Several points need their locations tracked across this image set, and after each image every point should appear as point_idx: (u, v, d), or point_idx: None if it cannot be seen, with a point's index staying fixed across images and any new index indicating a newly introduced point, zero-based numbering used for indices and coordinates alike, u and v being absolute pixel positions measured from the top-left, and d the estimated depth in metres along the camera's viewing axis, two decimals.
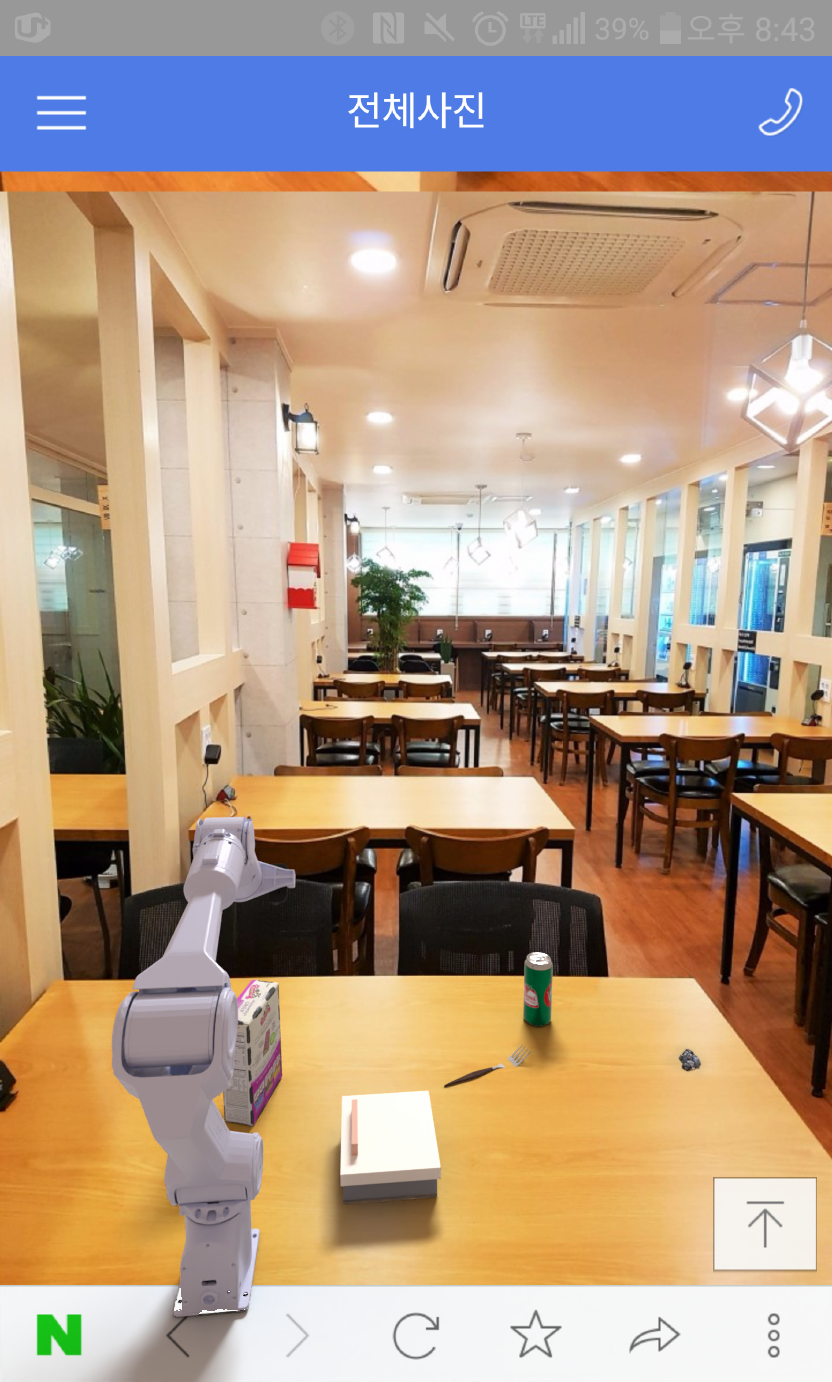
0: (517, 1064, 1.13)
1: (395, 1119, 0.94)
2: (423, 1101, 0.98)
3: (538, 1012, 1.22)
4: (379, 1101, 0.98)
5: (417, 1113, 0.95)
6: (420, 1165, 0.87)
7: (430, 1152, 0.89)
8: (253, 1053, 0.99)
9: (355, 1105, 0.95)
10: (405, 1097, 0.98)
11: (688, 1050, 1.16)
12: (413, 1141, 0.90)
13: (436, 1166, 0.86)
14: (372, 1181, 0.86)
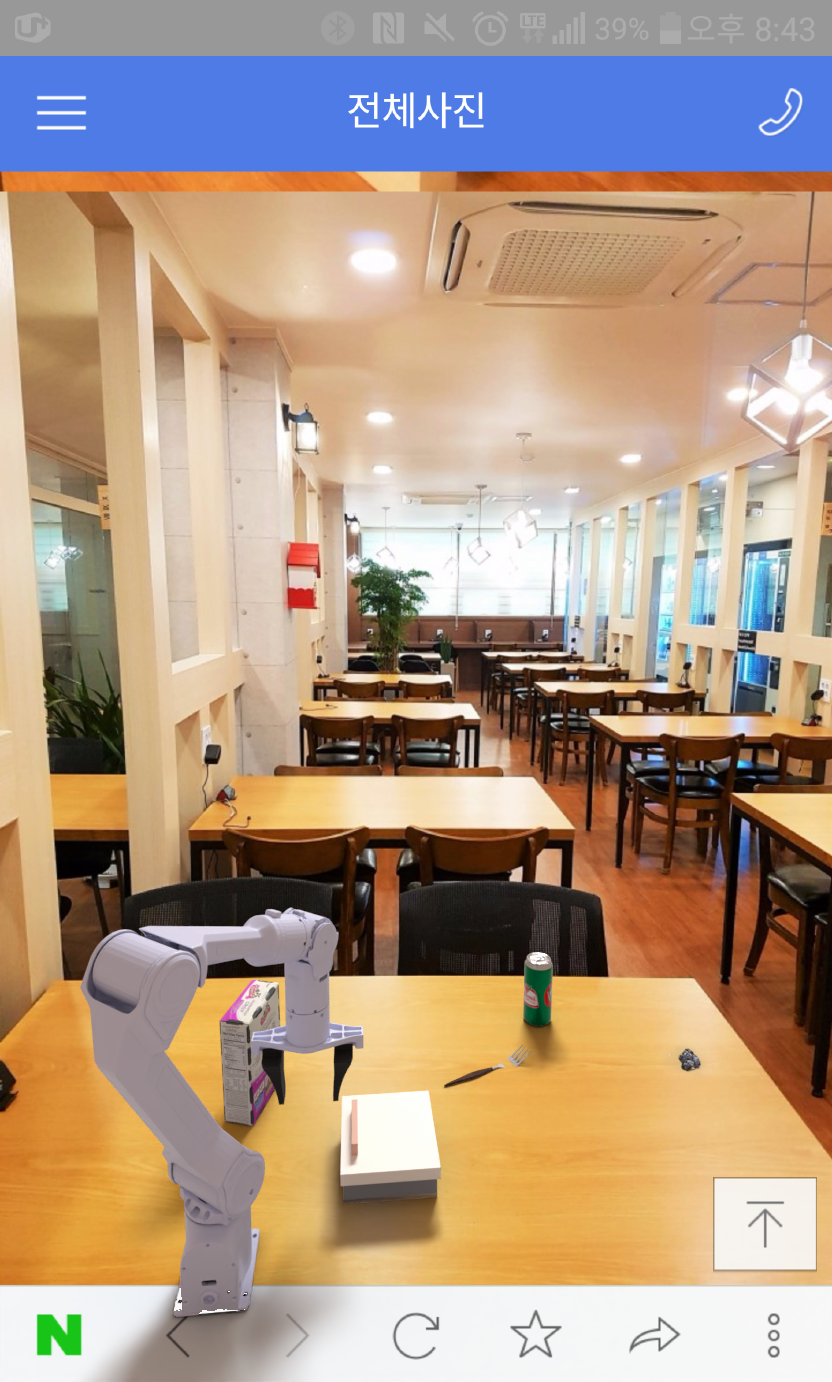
0: (517, 1064, 1.13)
1: (395, 1119, 0.94)
2: (423, 1101, 0.98)
3: (538, 1012, 1.22)
4: (379, 1101, 0.98)
5: (417, 1113, 0.95)
6: (420, 1165, 0.87)
7: (430, 1152, 0.89)
8: None
9: (355, 1105, 0.95)
10: (405, 1097, 0.98)
11: (688, 1050, 1.16)
12: (413, 1141, 0.90)
13: (436, 1166, 0.86)
14: (372, 1181, 0.86)
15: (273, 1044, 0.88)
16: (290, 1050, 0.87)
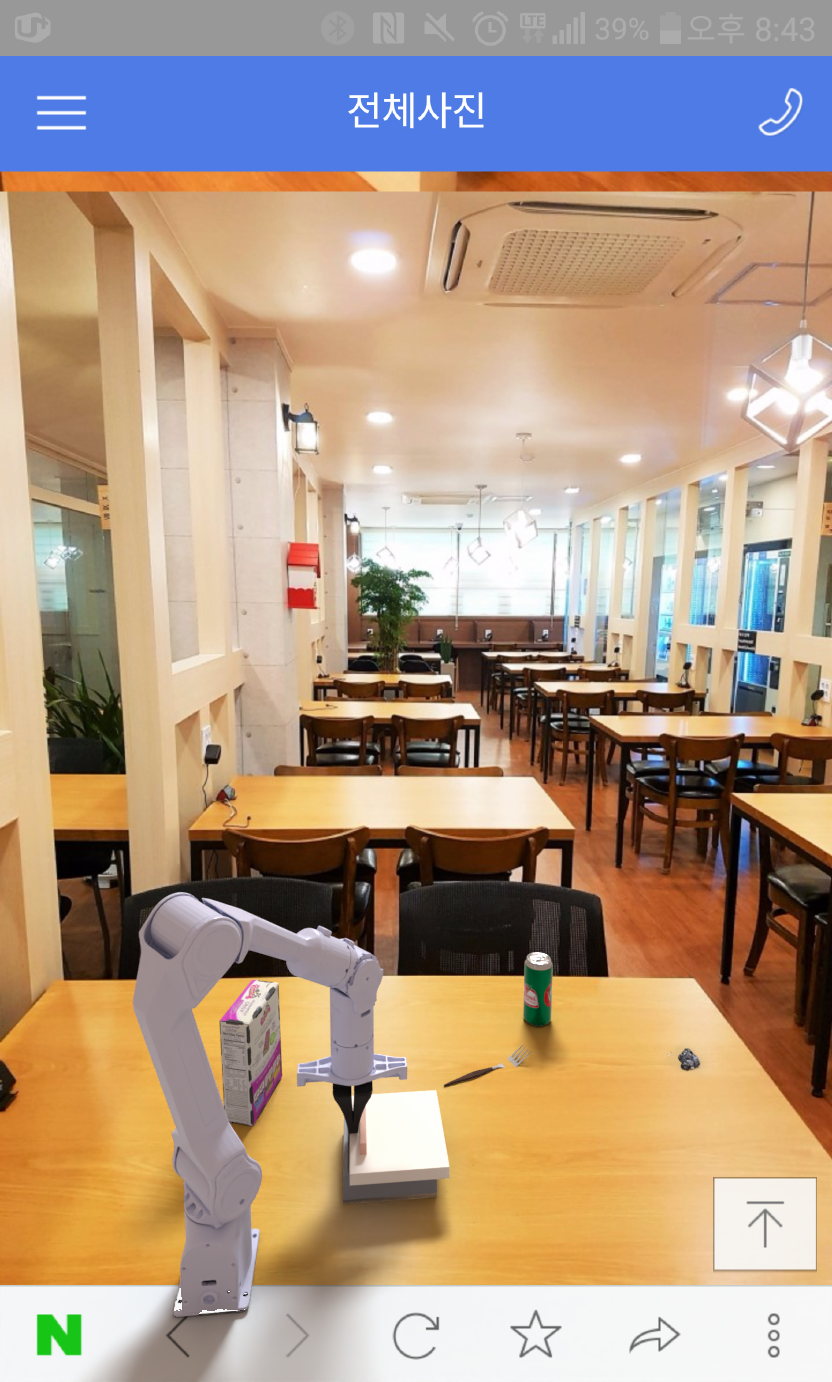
0: (517, 1064, 1.13)
1: (403, 1119, 0.94)
2: (431, 1100, 0.98)
3: (538, 1012, 1.22)
4: (387, 1100, 0.98)
5: (425, 1112, 0.95)
6: (429, 1165, 0.87)
7: (439, 1151, 0.89)
8: (253, 1053, 0.99)
9: None
10: (413, 1097, 0.98)
11: (687, 1049, 1.16)
12: (421, 1140, 0.90)
13: (445, 1165, 0.86)
14: (381, 1180, 0.86)
15: (319, 1076, 0.89)
16: (336, 1082, 0.88)
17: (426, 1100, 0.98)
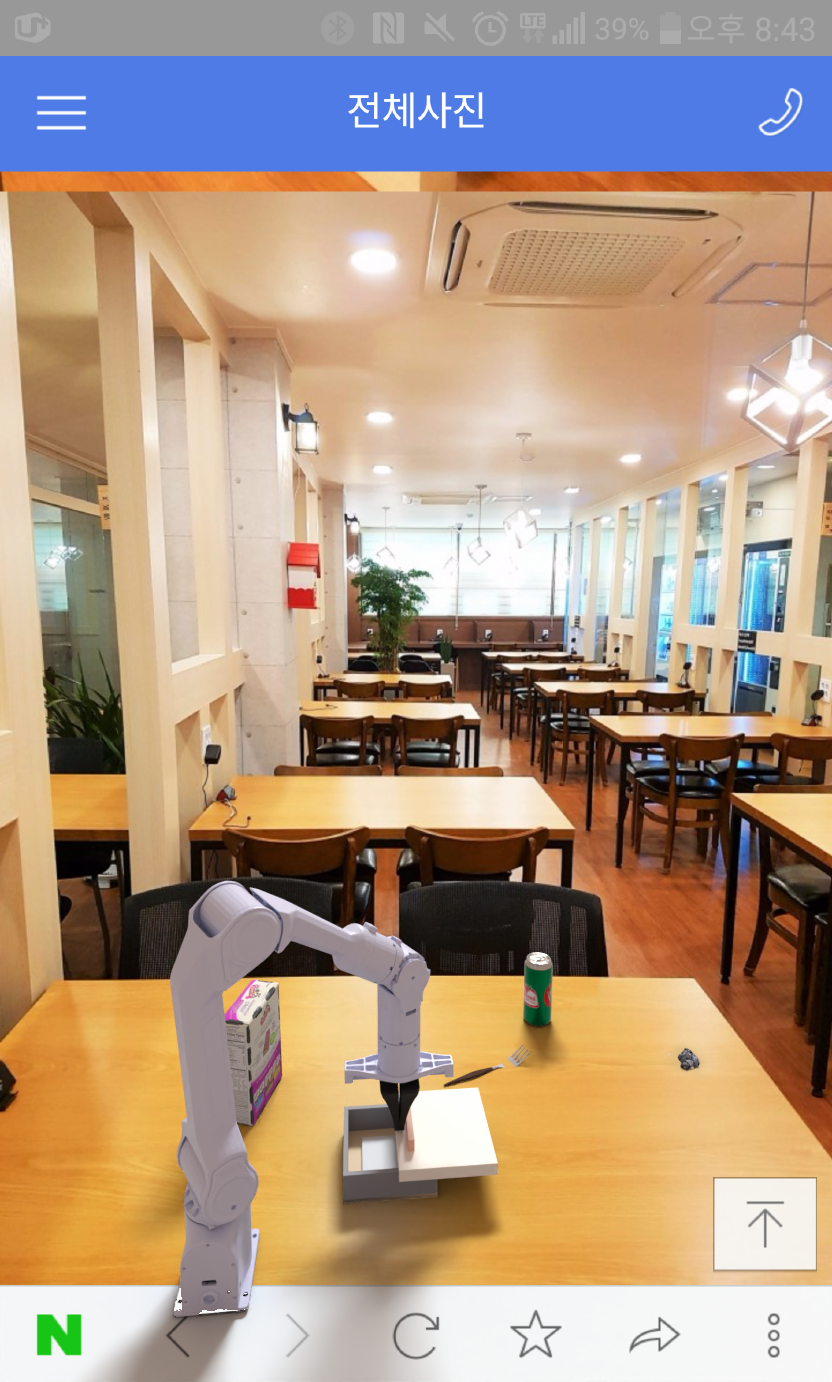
0: (517, 1064, 1.13)
1: (448, 1116, 0.95)
2: (474, 1098, 0.98)
3: (538, 1012, 1.22)
4: (430, 1098, 0.98)
5: (469, 1110, 0.96)
6: (477, 1161, 0.87)
7: (486, 1148, 0.89)
8: (253, 1053, 0.99)
9: None
10: (455, 1094, 0.99)
11: (687, 1049, 1.16)
12: (468, 1137, 0.91)
13: (493, 1162, 0.87)
14: (431, 1176, 0.86)
15: (367, 1073, 0.89)
16: (384, 1080, 0.89)
17: (469, 1097, 0.98)
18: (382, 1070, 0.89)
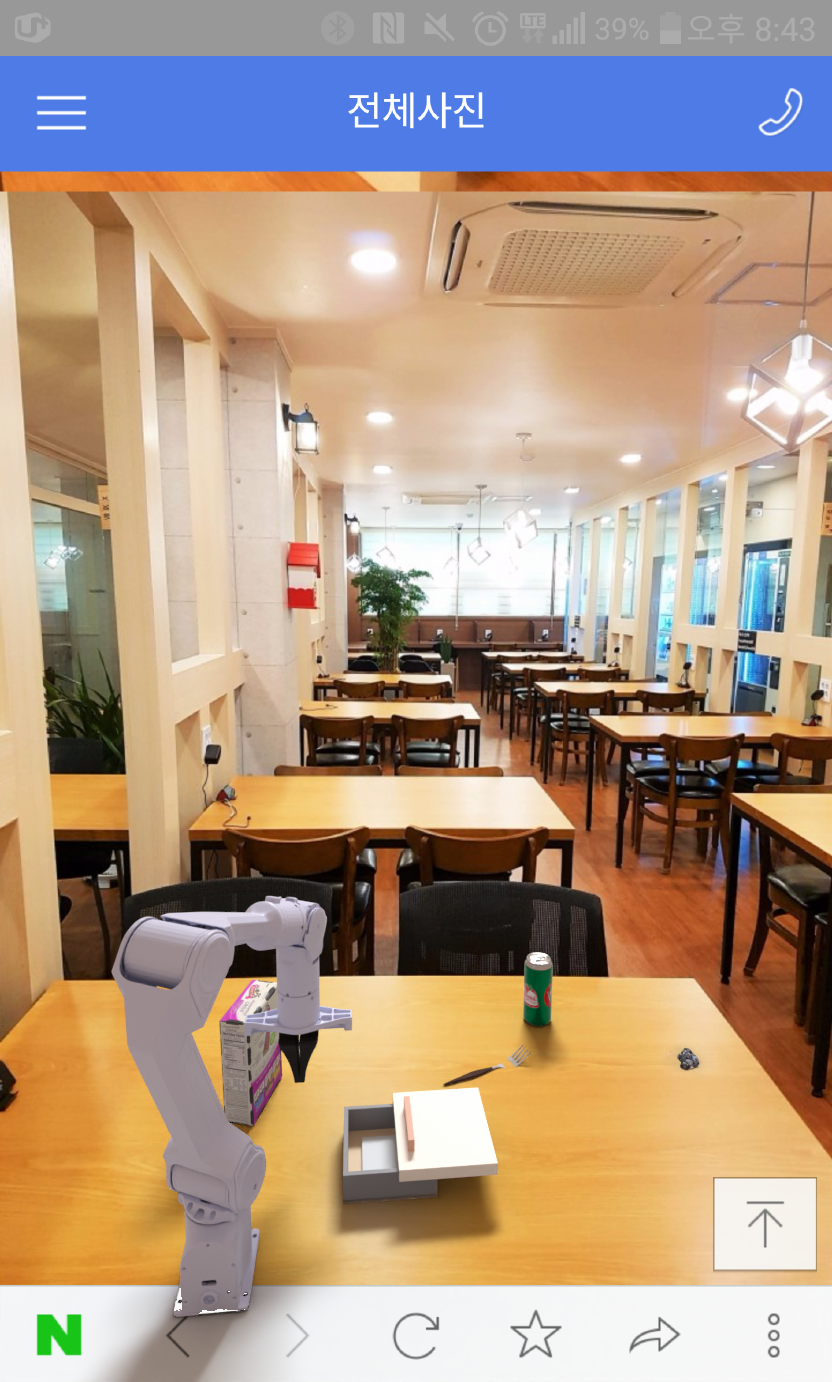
0: (517, 1064, 1.13)
1: (448, 1116, 0.95)
2: (474, 1098, 0.98)
3: (538, 1012, 1.22)
4: (430, 1098, 0.98)
5: (469, 1110, 0.96)
6: (477, 1161, 0.87)
7: (486, 1148, 0.89)
8: (253, 1053, 0.99)
9: (408, 1102, 0.95)
10: (455, 1094, 0.99)
11: (687, 1049, 1.16)
12: (468, 1137, 0.91)
13: (493, 1162, 0.87)
14: (431, 1176, 0.86)
15: (265, 1026, 0.91)
16: (281, 1031, 0.91)
17: (469, 1097, 0.98)
18: (280, 1022, 0.92)
